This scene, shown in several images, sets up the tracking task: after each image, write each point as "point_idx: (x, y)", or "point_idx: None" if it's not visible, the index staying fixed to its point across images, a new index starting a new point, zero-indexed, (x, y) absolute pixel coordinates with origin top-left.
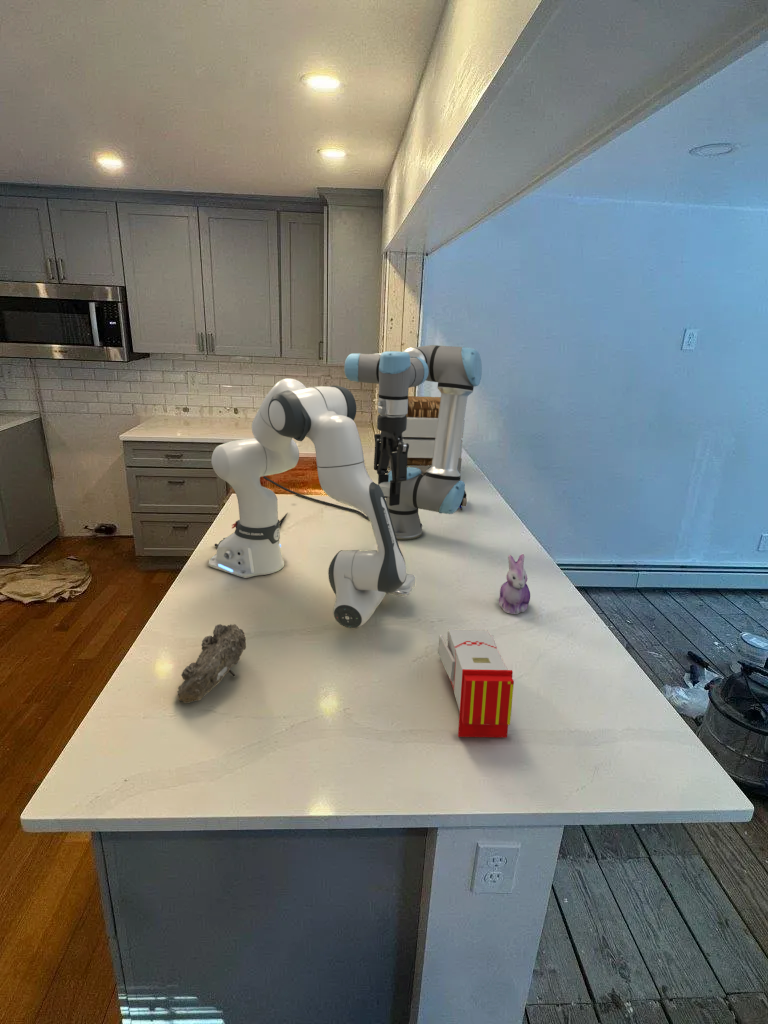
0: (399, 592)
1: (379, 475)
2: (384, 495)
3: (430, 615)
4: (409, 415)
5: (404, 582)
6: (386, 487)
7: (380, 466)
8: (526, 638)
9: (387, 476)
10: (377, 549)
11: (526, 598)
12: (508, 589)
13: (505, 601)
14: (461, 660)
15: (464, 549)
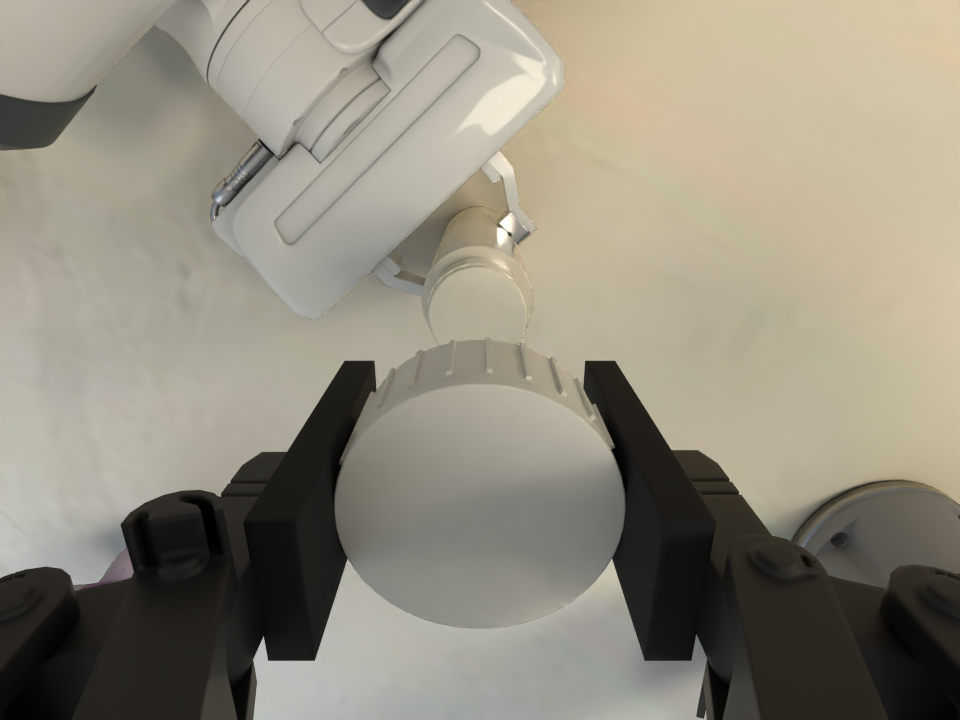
0: (218, 185)
1: (693, 527)
2: (406, 363)
3: (227, 290)
4: None
5: (249, 236)
6: (381, 431)
7: (754, 689)
8: (16, 470)
9: (640, 623)
10: (489, 234)
11: None
12: (124, 568)
13: None
14: None
15: (611, 653)
